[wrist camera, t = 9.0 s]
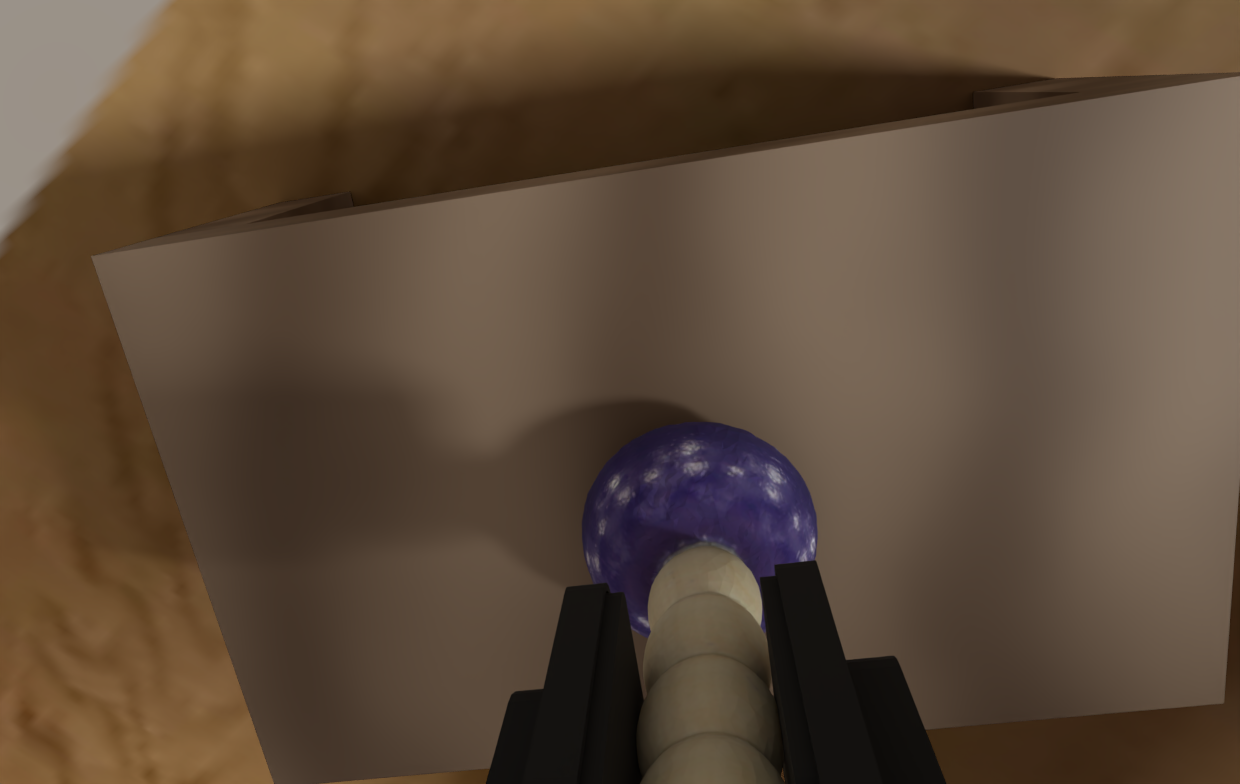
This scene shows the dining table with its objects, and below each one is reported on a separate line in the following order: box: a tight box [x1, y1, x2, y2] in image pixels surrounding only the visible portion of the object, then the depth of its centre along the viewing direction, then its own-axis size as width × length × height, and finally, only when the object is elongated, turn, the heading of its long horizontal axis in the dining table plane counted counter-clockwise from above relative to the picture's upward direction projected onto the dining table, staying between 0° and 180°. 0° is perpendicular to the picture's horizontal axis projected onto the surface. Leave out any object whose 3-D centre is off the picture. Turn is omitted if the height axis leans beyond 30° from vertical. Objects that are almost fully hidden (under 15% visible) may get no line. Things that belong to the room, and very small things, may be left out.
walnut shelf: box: [91, 72, 1240, 784], centre depth 20 cm, size 20×12×8 cm, turn 99°
